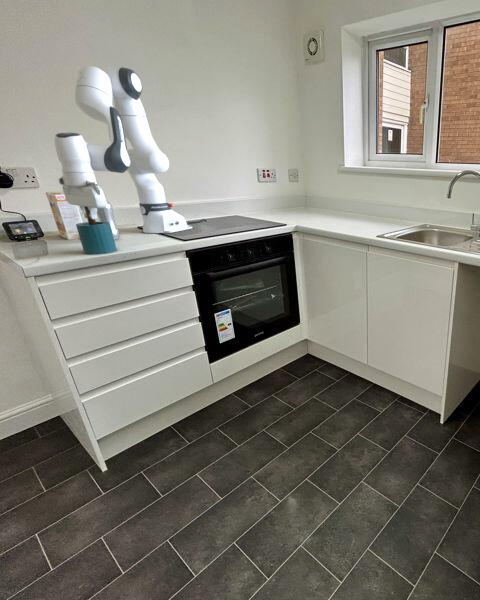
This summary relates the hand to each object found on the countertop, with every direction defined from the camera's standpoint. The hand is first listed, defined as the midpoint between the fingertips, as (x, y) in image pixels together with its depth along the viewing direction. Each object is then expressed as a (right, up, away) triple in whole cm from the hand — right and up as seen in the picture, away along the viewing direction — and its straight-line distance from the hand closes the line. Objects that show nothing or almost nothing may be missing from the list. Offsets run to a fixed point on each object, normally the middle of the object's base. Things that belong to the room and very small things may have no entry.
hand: (91, 218), depth 134 cm
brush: (0, -9, +4) cm, 10 cm away
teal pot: (0, -12, +5) cm, 13 cm away
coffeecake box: (-33, -2, +28) cm, 43 cm away
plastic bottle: (-12, -4, +24) cm, 27 cm away
